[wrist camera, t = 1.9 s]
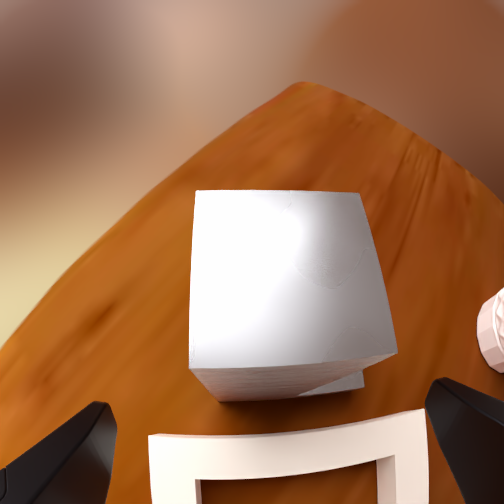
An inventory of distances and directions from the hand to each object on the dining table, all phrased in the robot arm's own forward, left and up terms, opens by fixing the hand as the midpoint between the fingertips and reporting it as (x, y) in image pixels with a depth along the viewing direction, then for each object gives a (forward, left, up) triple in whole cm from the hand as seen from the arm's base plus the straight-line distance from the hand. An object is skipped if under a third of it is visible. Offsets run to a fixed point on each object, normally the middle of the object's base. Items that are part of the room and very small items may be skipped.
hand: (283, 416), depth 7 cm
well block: (-4, -6, -10) cm, 12 cm away
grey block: (+4, +1, -10) cm, 11 cm away
